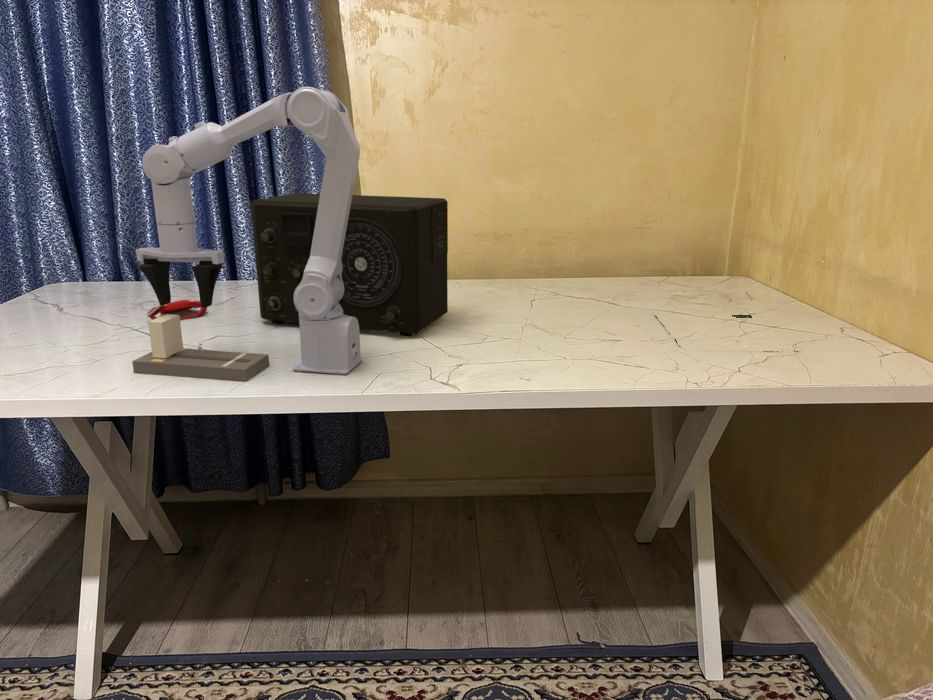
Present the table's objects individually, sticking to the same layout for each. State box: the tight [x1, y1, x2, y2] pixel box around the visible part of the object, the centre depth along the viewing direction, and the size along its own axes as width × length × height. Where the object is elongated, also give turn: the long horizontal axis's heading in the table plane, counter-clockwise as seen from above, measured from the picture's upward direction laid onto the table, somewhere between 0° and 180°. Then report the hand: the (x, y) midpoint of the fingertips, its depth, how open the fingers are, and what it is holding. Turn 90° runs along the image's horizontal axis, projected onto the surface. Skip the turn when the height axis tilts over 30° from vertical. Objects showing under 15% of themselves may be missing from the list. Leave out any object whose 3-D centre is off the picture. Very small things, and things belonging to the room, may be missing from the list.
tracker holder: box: [146, 299, 208, 320], centre depth 150 cm, size 12×4×10 cm
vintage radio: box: [250, 192, 449, 337], centre depth 144 cm, size 38×20×25 cm, turn 72°
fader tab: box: [147, 313, 184, 358], centre depth 118 cm, size 2×5×6 cm, turn 169°
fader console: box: [131, 347, 270, 382], centre depth 118 cm, size 20×8×2 cm, turn 78°
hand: (186, 305), depth 118 cm, fingers open, 7 cm apart
